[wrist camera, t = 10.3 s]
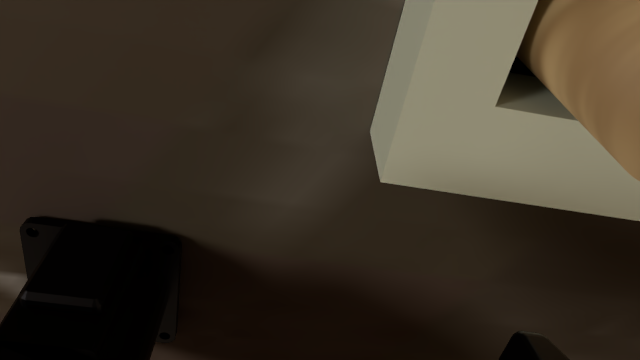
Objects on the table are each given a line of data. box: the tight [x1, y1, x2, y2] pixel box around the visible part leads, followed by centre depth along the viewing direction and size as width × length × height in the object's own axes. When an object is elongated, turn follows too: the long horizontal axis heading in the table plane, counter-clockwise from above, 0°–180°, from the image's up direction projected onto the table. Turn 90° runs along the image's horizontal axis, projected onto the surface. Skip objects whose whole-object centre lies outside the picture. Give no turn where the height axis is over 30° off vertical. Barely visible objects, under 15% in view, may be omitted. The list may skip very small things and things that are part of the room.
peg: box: [516, 0, 640, 181], centre depth 14 cm, size 4×4×8 cm
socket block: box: [370, 0, 640, 221], centre depth 16 cm, size 11×10×4 cm
